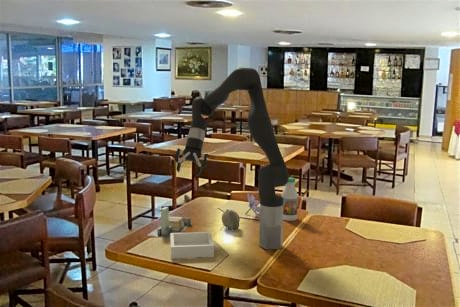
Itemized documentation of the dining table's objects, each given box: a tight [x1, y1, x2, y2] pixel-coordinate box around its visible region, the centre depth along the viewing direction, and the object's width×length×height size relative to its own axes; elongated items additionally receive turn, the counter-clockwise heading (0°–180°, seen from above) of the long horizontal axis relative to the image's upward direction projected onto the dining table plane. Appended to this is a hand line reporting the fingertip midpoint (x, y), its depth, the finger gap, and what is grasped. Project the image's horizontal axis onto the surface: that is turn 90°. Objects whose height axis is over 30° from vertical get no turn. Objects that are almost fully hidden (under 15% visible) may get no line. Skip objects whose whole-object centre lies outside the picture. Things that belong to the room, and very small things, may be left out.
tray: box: [169, 231, 215, 260], centre depth 185 cm, size 16×16×4 cm
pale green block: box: [160, 206, 170, 235], centre depth 201 cm, size 4×2×11 cm, turn 163°
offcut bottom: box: [169, 222, 184, 231], centre depth 209 cm, size 6×8×2 cm
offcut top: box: [169, 216, 182, 226], centre depth 209 cm, size 6×7×2 cm
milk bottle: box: [281, 176, 299, 222], centre depth 227 cm, size 8×8×20 cm
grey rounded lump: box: [221, 209, 241, 231], centre depth 211 cm, size 9×8×10 cm
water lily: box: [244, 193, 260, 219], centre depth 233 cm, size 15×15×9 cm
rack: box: [146, 215, 192, 239], centre depth 207 cm, size 20×12×4 cm, turn 163°
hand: (187, 173), depth 211 cm, fingers open, 8 cm apart
